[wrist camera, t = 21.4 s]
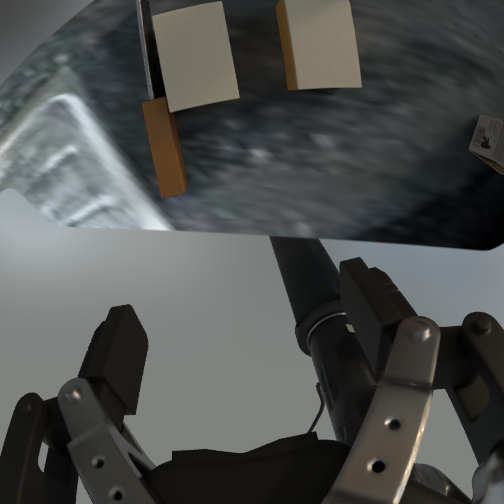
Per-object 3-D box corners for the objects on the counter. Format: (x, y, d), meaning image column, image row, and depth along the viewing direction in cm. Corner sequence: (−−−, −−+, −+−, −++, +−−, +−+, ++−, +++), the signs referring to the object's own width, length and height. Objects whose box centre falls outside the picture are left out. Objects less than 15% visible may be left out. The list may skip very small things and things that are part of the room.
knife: (188, 183, 33) (183, 195, 29) (167, 187, 33) (160, 200, 29) (157, -1, 23) (149, -13, 19) (136, 5, 23) (124, -6, 19)
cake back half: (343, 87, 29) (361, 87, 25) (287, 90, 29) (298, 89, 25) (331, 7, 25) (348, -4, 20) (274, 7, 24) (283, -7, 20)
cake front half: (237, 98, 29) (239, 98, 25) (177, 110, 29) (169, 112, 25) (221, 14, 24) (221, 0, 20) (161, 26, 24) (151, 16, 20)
